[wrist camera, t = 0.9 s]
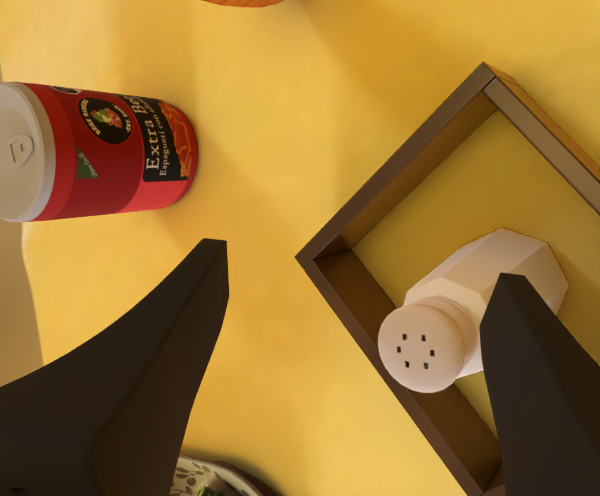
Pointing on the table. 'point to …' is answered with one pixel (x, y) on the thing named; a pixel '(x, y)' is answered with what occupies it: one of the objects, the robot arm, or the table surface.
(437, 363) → the salt shaker
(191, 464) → the salad plate
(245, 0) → the carrot
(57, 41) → the table surface
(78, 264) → the table surface
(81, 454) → the robot arm
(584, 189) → the rectangular frame
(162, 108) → the canned food
